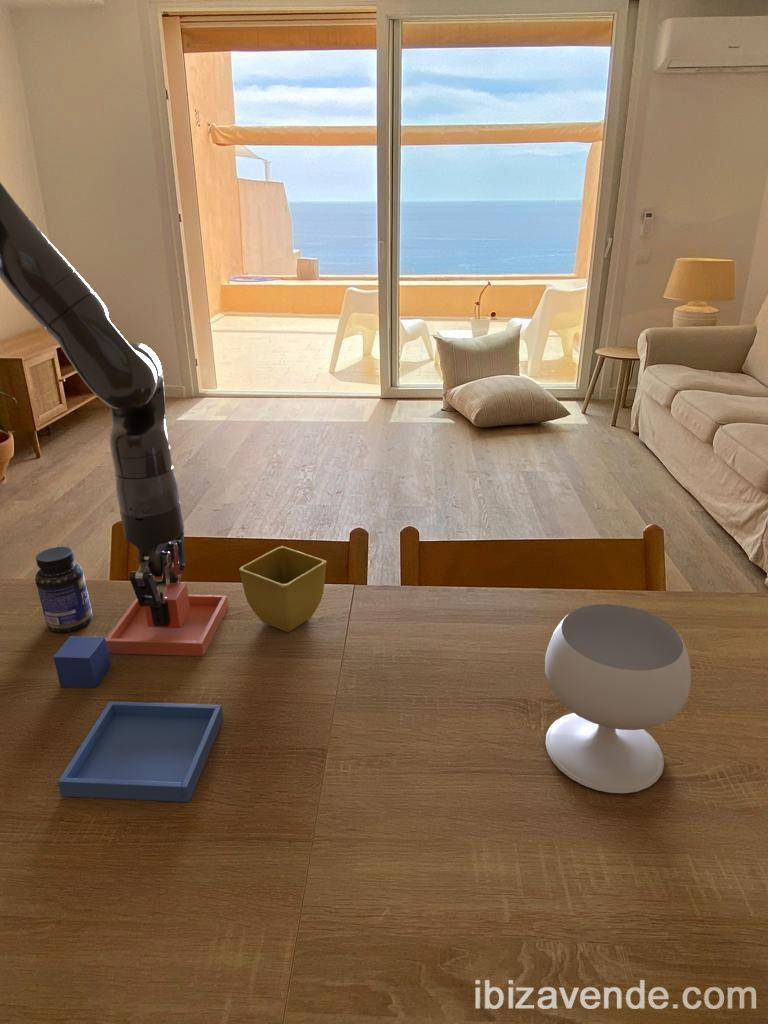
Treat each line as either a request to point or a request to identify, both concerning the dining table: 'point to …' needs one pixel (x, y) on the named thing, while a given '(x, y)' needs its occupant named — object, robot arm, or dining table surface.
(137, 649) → the terracotta tray
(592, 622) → the chalice
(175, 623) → the terracotta block
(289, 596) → the flower pot
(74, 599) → the pill bottle
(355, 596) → the dining table surface
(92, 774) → the slate-blue tray
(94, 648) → the slate-blue block
